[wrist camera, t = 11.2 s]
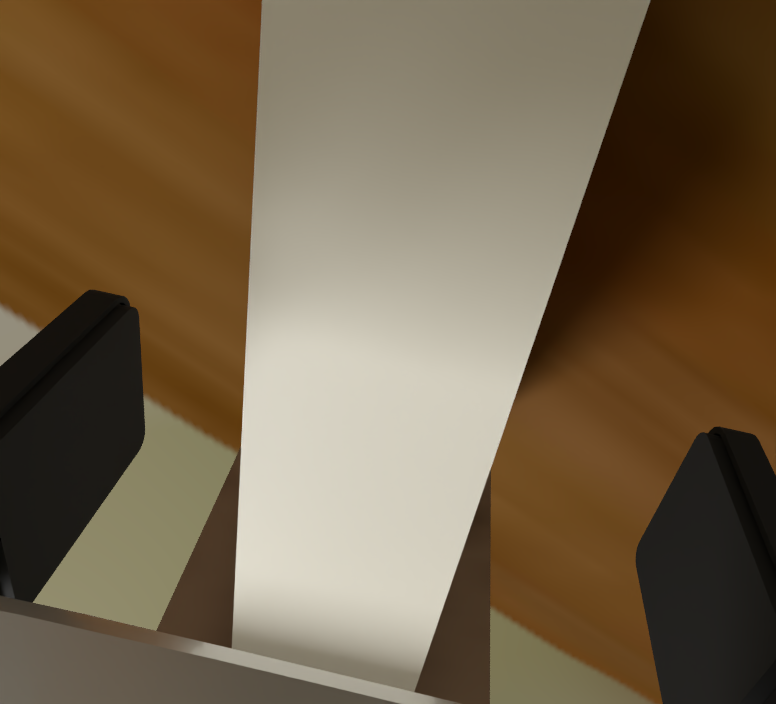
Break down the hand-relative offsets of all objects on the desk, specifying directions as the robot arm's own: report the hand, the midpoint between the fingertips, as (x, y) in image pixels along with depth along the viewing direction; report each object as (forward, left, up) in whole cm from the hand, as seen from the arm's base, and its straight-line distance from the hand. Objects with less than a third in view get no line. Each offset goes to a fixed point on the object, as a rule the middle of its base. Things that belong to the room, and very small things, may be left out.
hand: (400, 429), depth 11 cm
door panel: (+1, 0, -11) cm, 11 cm away
